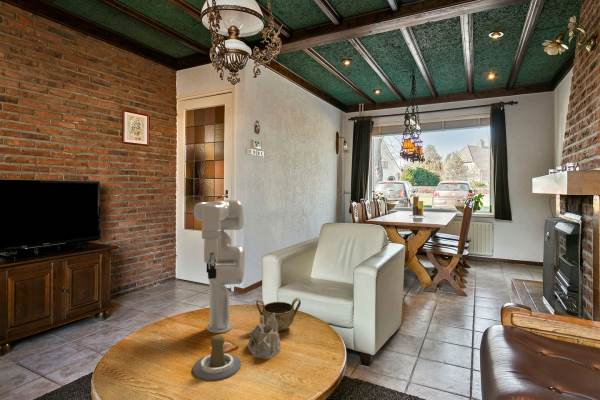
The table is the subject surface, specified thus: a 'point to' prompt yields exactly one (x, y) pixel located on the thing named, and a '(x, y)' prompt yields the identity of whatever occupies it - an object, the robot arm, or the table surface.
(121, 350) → the table surface
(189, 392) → the table surface
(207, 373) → the round tray
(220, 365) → the cork
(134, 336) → the table surface
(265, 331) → the ceramic cottage
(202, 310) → the table surface
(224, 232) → the robot arm
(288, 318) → the ceramic bowl
